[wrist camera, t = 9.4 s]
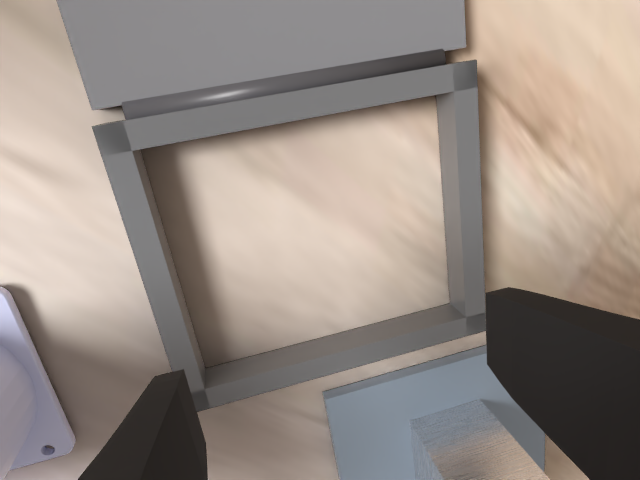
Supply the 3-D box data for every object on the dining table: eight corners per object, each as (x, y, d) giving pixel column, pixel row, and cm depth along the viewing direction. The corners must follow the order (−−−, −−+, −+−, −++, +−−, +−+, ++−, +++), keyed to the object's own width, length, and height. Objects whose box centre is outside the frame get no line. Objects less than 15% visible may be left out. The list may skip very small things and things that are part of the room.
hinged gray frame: (188, 392, 20) (186, 415, 19) (-51, -356, 12) (-87, -417, 10) (469, 315, 22) (486, 330, 21) (435, -360, 14) (460, -411, 12)
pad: (354, 558, 26) (357, 569, 25) (322, 392, 22) (325, 399, 21) (536, 494, 28) (543, 502, 27) (539, 329, 24) (547, 335, 23)
